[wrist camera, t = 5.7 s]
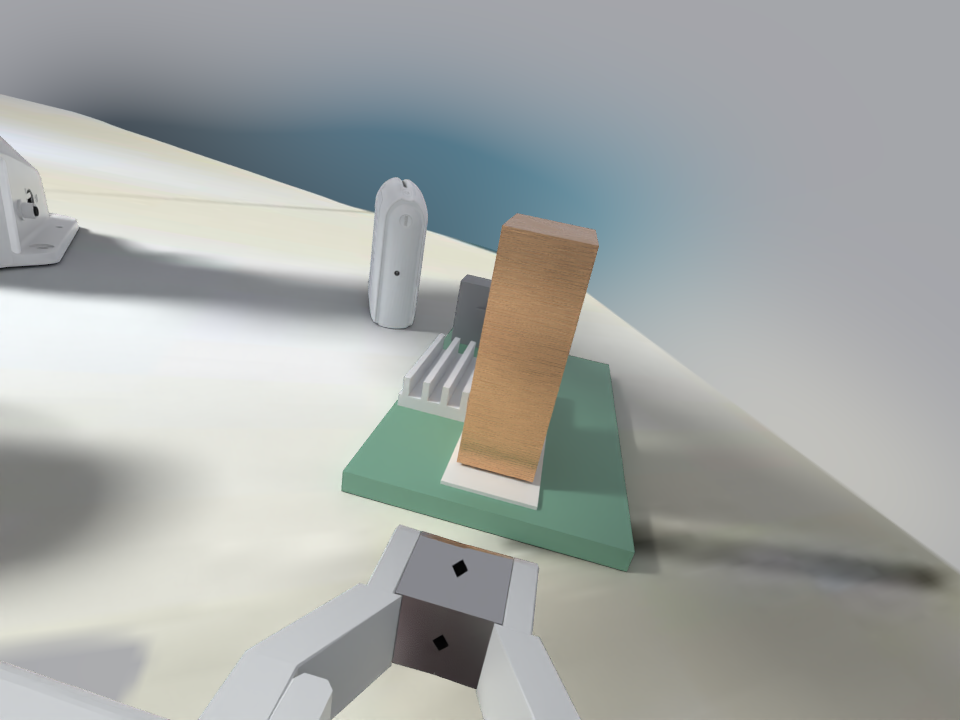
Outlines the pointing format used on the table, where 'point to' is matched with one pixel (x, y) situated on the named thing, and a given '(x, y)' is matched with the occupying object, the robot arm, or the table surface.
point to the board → (489, 495)
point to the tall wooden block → (525, 342)
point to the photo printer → (397, 253)
